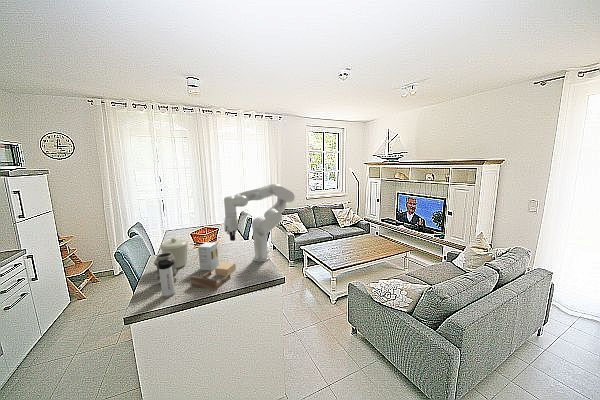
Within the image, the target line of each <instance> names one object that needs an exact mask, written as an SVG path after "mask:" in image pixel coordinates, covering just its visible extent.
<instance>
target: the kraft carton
mask: <svg viewBox="0 0 600 400" xmlns="http://www.w3.org/2000/svg"><path fill="white" fill-rule="evenodd" d="M236 269H237V268H236V263H235V262H229V261H228V262H227V261H224V262H222V263H220V264H219V265H218V266H217V267H216V268H214V270H215V271H214V273H215V276H218V277H219V276H221V277H226V276H227V275H229V274H230V275H232V273H233V272H235V271H236Z"/></svg>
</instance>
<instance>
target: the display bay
mask: <svg viewBox="0 0 600 400" xmlns="http://www.w3.org/2000/svg"><path fill="white" fill-rule="evenodd" d="M210 276H212V271H211V270H208V272H206V273H204V274H203V275H201V276H197V275H196V276H195V275H191V276H189V280H190V281H189V282H190V287H195V288H199V289H203V290H204V289H205V290H209V291H214V292H216V291H218V288H220V287H221V286H222V285H224V284H225V283H226V282H228V281H229V280H230V279H231V274H229V275H227V276H223V278H222V279H220V280H219V281H218V282H217V279H213V278H209V277H210Z"/></svg>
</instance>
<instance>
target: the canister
mask: <svg viewBox="0 0 600 400" xmlns="http://www.w3.org/2000/svg"><path fill="white" fill-rule="evenodd" d="M188 244H189V241H188V240H186V239H183V238H176V237H171V238H170V240H168V241H164V242H163V243H162V244H160V246H159V248H160V250H161V254H162V253H168V252H170V253H172V255H173V256H175V258H176V261H175V262H174V265H175V268H176V269H177V270H178V269H180V268H183V267H184V266H186V265H187V263H188Z"/></svg>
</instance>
